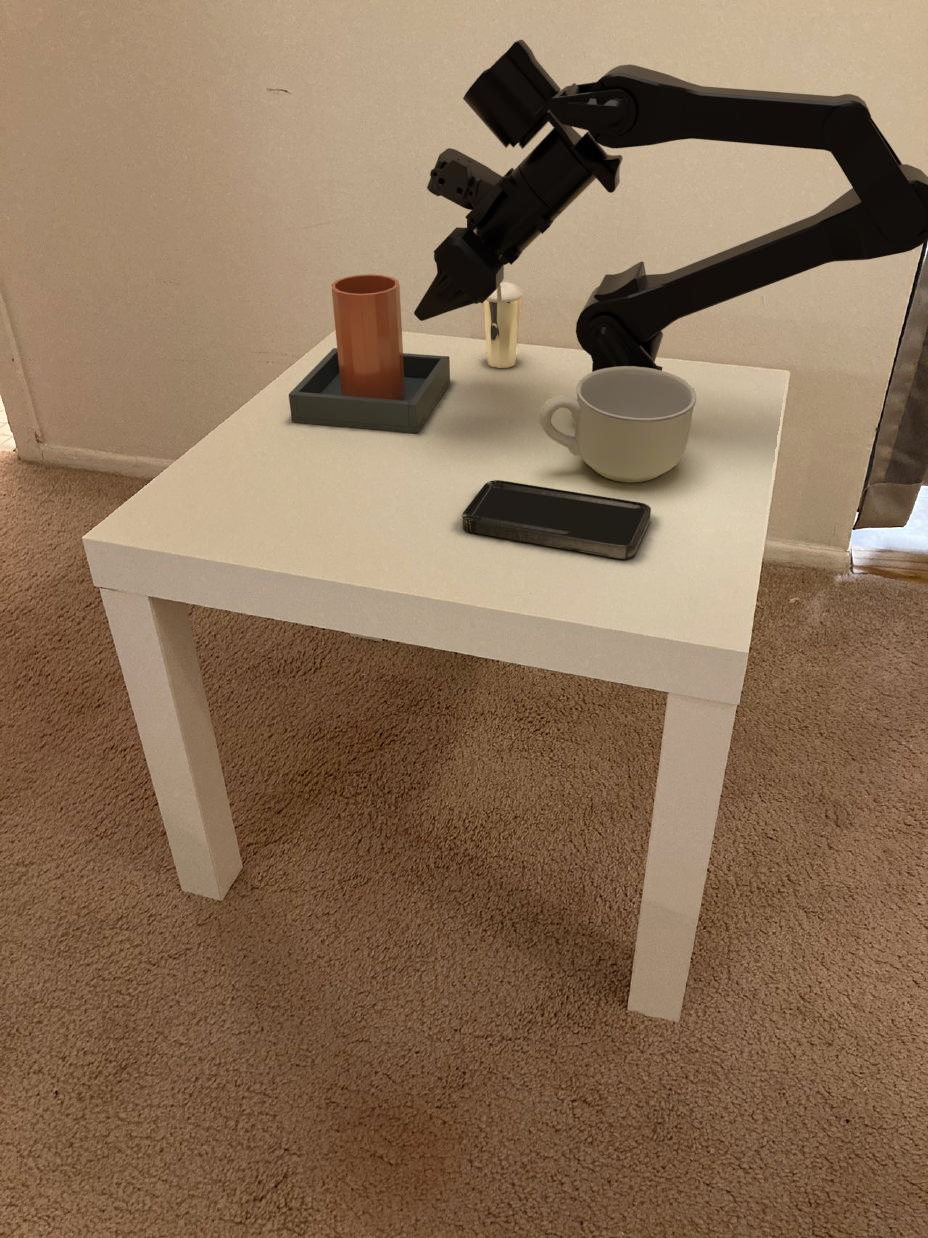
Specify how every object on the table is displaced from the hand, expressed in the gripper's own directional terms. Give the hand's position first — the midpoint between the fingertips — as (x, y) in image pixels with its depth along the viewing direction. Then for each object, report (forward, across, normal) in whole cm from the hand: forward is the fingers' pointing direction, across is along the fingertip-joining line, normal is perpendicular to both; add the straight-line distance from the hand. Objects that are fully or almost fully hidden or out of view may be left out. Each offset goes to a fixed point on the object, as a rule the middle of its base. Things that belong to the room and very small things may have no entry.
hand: (430, 301), depth 99 cm
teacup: (-6, +10, +22) cm, 26 cm away
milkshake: (+5, -13, +11) cm, 18 cm away
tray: (+13, 0, +3) cm, 13 cm away
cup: (+12, 0, +3) cm, 13 cm away
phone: (-4, +22, +20) cm, 30 cm away
